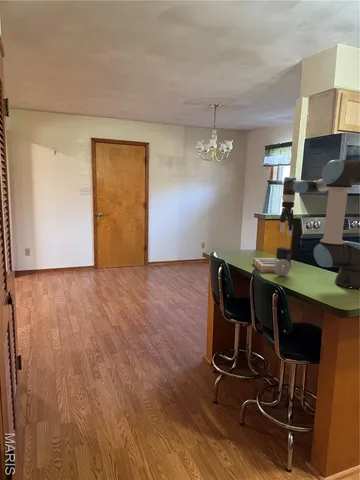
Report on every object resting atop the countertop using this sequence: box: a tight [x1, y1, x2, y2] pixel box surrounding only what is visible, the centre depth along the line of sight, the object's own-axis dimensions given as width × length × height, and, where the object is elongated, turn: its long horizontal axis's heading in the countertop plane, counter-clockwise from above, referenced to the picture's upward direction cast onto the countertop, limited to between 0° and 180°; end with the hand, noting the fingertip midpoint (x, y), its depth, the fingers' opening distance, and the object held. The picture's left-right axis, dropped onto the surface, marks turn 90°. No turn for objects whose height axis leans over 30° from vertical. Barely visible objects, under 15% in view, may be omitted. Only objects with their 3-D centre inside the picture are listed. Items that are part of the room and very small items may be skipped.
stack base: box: [252, 257, 284, 273], centre depth 205 cm, size 20×16×4 cm
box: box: [275, 246, 293, 265], centre depth 217 cm, size 8×6×11 cm
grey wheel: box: [274, 259, 291, 277], centre depth 187 cm, size 10×3×10 cm, turn 109°
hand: (285, 233), depth 214 cm, fingers open, 13 cm apart
